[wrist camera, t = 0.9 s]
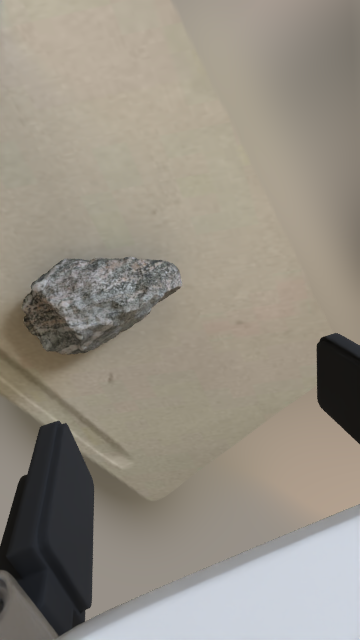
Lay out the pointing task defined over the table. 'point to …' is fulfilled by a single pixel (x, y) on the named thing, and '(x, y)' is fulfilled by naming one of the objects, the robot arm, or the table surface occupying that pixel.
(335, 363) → the robot arm
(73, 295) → the rock
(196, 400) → the table surface
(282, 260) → the table surface
